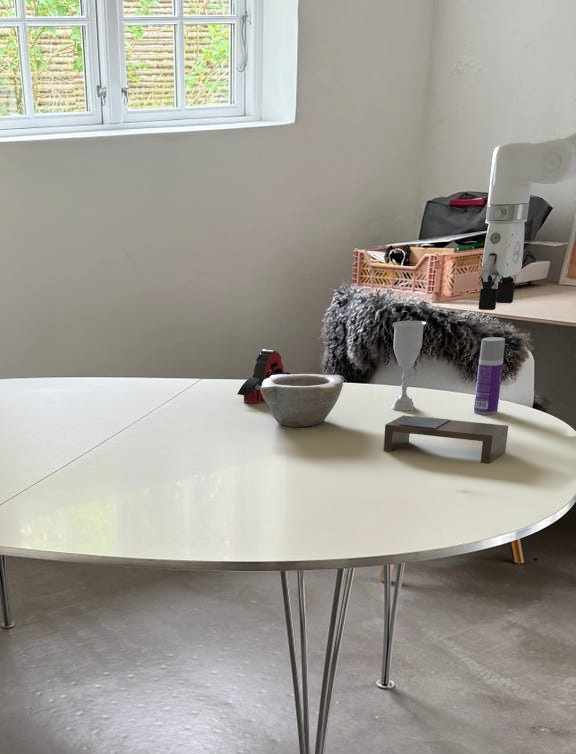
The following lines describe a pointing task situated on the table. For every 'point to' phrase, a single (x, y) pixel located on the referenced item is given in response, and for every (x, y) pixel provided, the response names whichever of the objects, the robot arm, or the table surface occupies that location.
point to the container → (489, 375)
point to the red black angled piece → (261, 375)
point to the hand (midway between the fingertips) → (495, 306)
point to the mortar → (301, 397)
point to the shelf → (448, 433)
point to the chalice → (406, 355)
